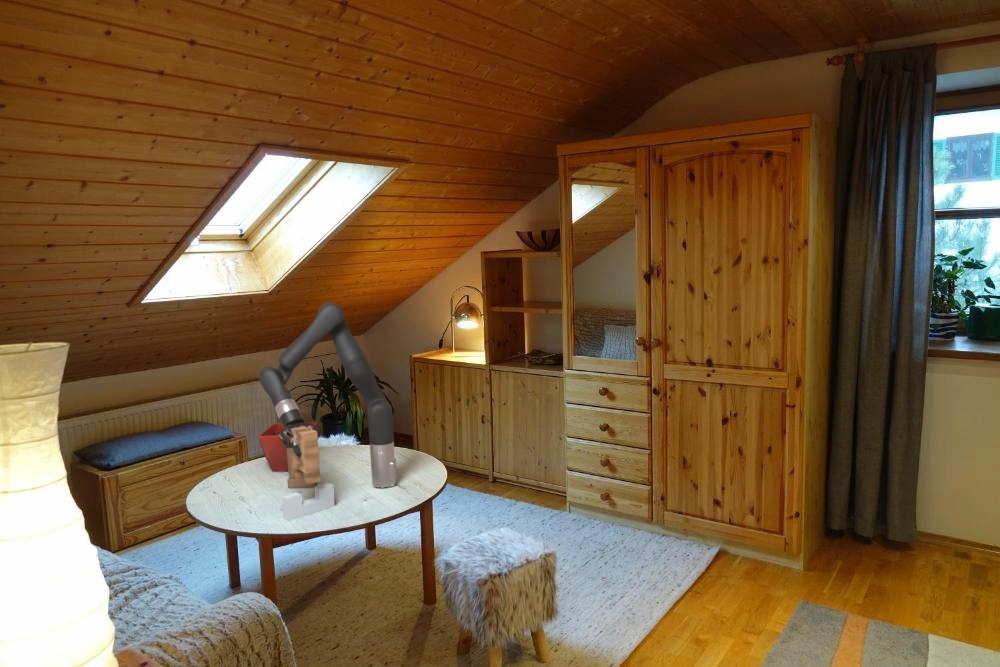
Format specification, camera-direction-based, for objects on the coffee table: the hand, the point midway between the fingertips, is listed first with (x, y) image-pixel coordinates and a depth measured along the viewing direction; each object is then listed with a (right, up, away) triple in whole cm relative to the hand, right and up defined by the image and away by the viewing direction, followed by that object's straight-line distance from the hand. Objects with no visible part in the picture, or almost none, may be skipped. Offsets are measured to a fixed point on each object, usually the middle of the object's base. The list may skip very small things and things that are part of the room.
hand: (307, 453), depth 250 cm
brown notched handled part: (-10, -18, +30) cm, 37 cm away
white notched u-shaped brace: (-1, -22, +4) cm, 22 cm away
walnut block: (-1, -10, +3) cm, 10 cm away
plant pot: (-22, -15, +54) cm, 60 cm away
